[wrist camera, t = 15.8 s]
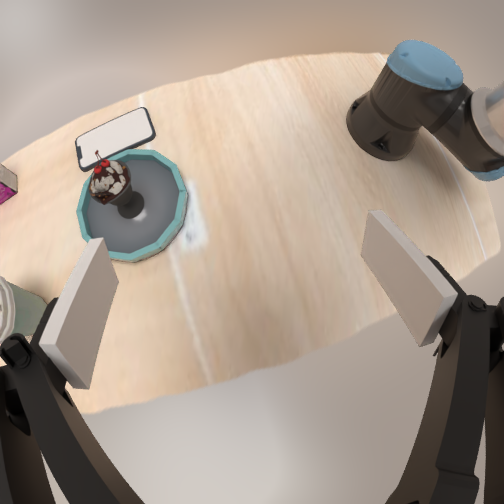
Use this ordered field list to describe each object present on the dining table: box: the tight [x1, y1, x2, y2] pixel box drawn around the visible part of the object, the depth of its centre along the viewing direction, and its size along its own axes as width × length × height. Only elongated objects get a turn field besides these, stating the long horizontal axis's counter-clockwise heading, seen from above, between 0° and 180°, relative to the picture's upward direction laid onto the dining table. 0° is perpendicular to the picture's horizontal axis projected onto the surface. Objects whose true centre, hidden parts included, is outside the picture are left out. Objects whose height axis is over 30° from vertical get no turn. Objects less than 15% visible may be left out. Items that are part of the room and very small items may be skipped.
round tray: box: [76, 149, 188, 262], centre depth 46 cm, size 19×19×3 cm
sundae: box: [88, 150, 144, 219], centre depth 40 cm, size 7×7×15 cm
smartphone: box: [75, 107, 156, 172], centre depth 50 cm, size 9×2×16 cm
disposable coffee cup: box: [0, 276, 47, 344], centre depth 36 cm, size 11×11×15 cm
